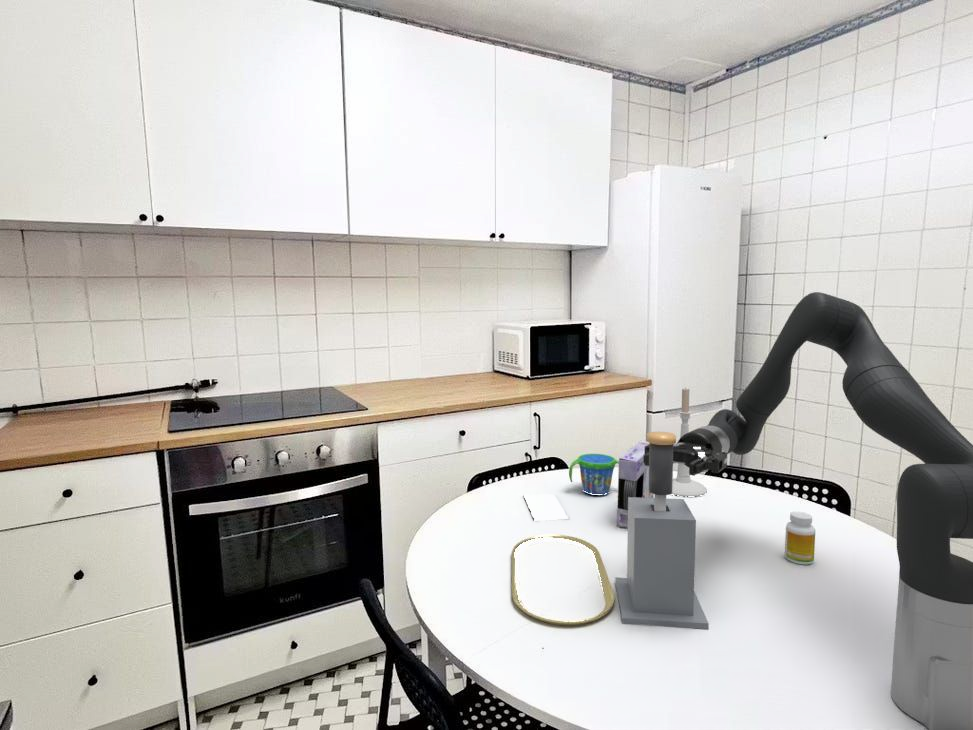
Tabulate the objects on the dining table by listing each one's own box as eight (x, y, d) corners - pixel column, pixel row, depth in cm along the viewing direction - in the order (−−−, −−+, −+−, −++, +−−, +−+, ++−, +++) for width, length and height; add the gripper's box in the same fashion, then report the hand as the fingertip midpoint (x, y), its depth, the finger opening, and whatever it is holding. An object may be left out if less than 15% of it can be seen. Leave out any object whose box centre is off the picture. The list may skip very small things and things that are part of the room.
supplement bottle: (818, 566, 112) (820, 520, 111) (789, 564, 113) (791, 519, 112) (808, 554, 118) (810, 510, 116) (781, 552, 119) (783, 509, 118)
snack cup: (621, 487, 162) (621, 453, 161) (626, 499, 152) (627, 463, 151) (567, 486, 164) (568, 452, 162) (569, 498, 153) (569, 463, 152)
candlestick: (711, 498, 152) (715, 391, 148) (663, 496, 154) (666, 390, 150) (701, 483, 164) (704, 384, 161) (657, 481, 166) (658, 383, 163)
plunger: (675, 590, 96) (678, 438, 93) (646, 588, 97) (649, 437, 94) (669, 576, 101) (673, 431, 98) (643, 575, 102) (645, 431, 99)
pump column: (708, 629, 92) (711, 525, 90) (622, 623, 94) (623, 521, 92) (689, 586, 105) (692, 495, 103) (615, 582, 107) (616, 493, 105)
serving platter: (512, 630, 93) (512, 621, 93) (511, 541, 128) (511, 534, 127) (624, 631, 92) (624, 622, 92) (593, 541, 127) (593, 534, 127)
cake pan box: (634, 532, 130) (635, 460, 128) (613, 528, 133) (614, 457, 131) (655, 506, 146) (657, 441, 144) (637, 503, 149) (638, 439, 147)
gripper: (670, 423, 115) (632, 438, 103) (741, 433, 105) (708, 451, 93) (669, 458, 116) (631, 477, 104) (740, 471, 106) (707, 494, 94)
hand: (668, 465), depth 99 cm, fingers open, 8 cm apart
